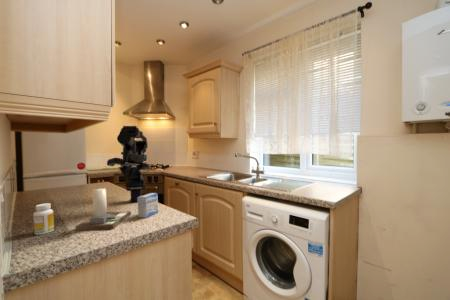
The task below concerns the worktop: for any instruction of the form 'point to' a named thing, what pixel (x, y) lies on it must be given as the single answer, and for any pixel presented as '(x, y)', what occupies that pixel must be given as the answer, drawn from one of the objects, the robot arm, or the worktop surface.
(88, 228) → the base
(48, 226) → the supplement bottle
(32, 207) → the worktop surface
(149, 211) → the medicine box
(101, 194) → the white tall cylinder
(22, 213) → the worktop surface
